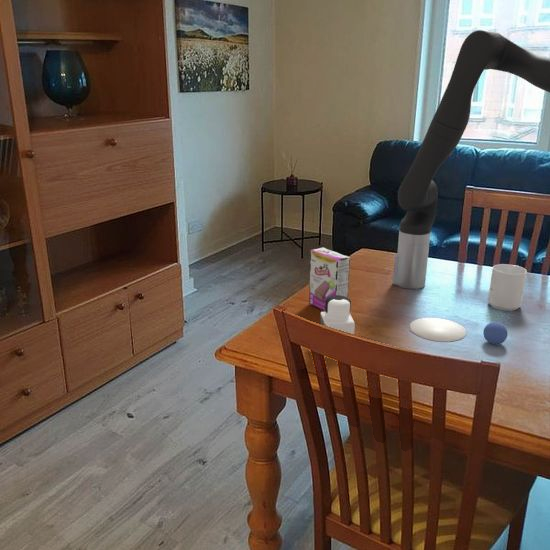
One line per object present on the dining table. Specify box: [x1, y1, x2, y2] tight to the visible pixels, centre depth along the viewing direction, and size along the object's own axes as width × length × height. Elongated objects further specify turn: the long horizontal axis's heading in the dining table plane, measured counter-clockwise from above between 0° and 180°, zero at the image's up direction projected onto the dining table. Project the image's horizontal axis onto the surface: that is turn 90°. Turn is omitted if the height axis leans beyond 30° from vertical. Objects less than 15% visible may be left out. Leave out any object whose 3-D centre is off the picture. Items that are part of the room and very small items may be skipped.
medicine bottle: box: [319, 295, 356, 335], centre depth 134 cm, size 7×7×12 cm
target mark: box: [409, 317, 467, 343], centre depth 144 cm, size 14×14×1 cm
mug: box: [487, 263, 528, 312], centre depth 159 cm, size 12×9×11 cm
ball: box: [483, 321, 509, 346], centre depth 136 cm, size 6×6×6 cm
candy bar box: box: [308, 246, 351, 312], centre depth 154 cm, size 11×5×16 cm, turn 37°
